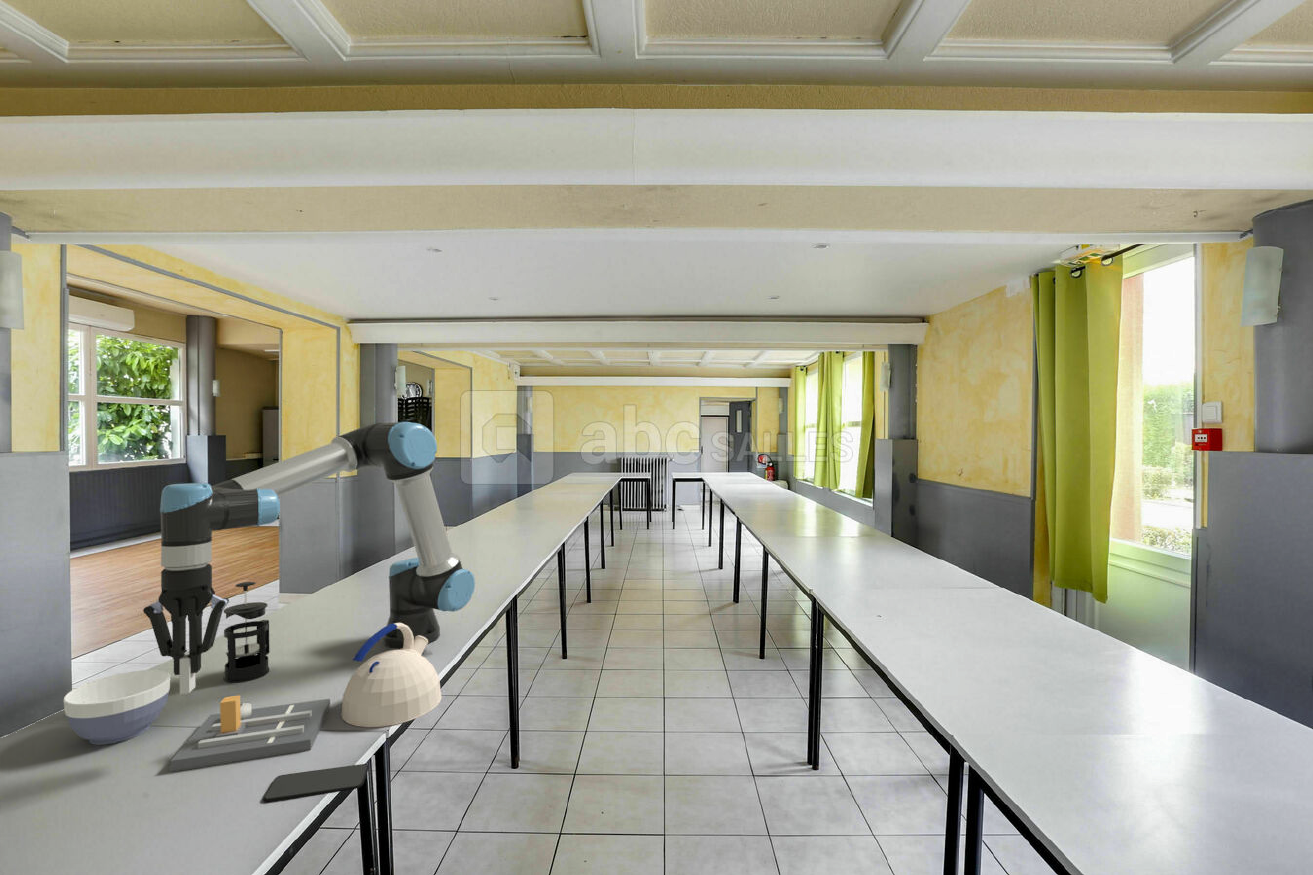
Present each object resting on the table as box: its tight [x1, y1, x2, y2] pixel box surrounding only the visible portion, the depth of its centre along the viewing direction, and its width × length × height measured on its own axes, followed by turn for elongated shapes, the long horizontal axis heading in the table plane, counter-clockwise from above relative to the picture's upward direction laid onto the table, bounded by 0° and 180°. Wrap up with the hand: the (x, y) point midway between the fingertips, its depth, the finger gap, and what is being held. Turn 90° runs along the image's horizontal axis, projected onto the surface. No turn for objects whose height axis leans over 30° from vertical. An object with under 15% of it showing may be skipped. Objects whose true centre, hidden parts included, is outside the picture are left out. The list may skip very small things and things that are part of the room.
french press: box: [223, 581, 271, 684], centre depth 148 cm, size 12×9×23 cm
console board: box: [170, 698, 331, 773], centre depth 118 cm, size 22×18×4 cm
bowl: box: [63, 669, 171, 746], centre depth 119 cm, size 16×16×10 cm
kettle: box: [340, 623, 442, 728], centre depth 131 cm, size 20×21×18 cm
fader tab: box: [215, 694, 246, 738], centre depth 114 cm, size 4×4×7 cm
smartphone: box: [262, 763, 370, 804], centre depth 102 cm, size 7×1×15 cm
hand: (187, 690), depth 112 cm, fingers closed
